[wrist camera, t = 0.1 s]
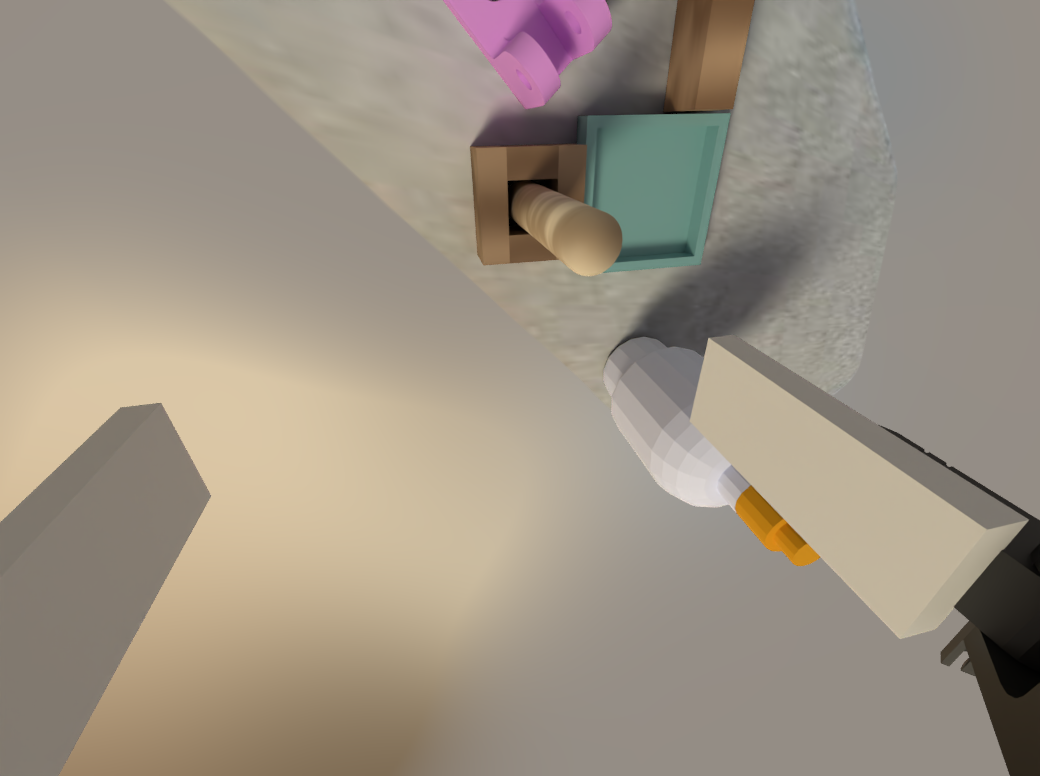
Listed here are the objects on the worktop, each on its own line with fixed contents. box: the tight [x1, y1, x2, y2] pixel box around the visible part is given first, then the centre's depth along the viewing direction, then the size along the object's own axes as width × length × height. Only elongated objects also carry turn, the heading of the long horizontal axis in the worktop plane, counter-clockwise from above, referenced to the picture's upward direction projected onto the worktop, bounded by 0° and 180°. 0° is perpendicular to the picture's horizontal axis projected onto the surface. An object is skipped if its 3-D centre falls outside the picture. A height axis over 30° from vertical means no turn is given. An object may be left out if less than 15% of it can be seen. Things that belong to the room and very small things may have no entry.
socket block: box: [470, 144, 587, 265], centre depth 34 cm, size 8×8×4 cm
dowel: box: [508, 180, 623, 276], centre depth 28 cm, size 3×3×16 cm
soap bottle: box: [604, 337, 820, 566], centre depth 36 cm, size 10×10×24 cm
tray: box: [577, 113, 731, 273], centre depth 36 cm, size 12×12×2 cm
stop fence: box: [663, 0, 755, 112], centre depth 29 cm, size 12×3×4 cm, turn 1°
